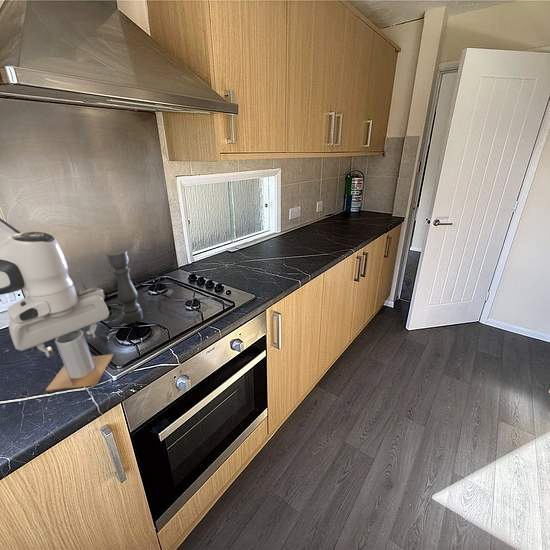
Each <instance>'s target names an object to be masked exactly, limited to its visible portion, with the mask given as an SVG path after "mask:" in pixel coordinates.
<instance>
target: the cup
mask: <svg viewBox="0 0 550 550" xmlns="http://www.w3.org/2000/svg"><path fill="white" fill-rule="evenodd" d="M54 344H55V346H56V348H57V351H58V354H59V356H60V358H61V361H62V363H63V366H65V369H66V371H67V374H68V376H69V377H70V378H73V379H76V378H81V377H84V376H86V375H88V374H89V373H91V372H92V371H93V370H94V368H95V365H94V362H93V359H92V353H91V349H90V347H89V344H88V341H87V339H86V336H85V332H84V331H83V330H81V329H78V330H75V331H73V332H70V333H68V334H65V335H62V336H60V337H57V338H55V339H54Z"/></svg>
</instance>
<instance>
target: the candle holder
mask: <svg viewBox="0 0 550 550" xmlns="http://www.w3.org/2000/svg"><path fill="white" fill-rule="evenodd" d="M106 256H107V260H108V264H109V265H110V266H111V267H112V268H113V270H112V274H113V275H114V276H115V277H116V281H117V299H118V301H119V302H120V303H121V304H122V305H123V306H122V308H121V311H122V313H121V314H122V319H123V322H124V323H125V324H127V325H130V324H129V323H134V324H136V323H135V322H136V321H138V322H137V323H140V322H141V321H143V319H144V314H143V309H142V307H141V306H140V304H139V303H138V301H137V299H138V296H139V294H138V291H137V289H136V288H135V286H134V284H133V282H132V280H131V276H130V271H131V268H130V267H128V264H129V256H128V251H127V249H115V250H110V251H109V252H107V253H106Z"/></svg>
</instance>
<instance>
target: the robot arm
mask: <svg viewBox="0 0 550 550" xmlns="http://www.w3.org/2000/svg"><path fill="white" fill-rule="evenodd" d="M20 290H21V291H22V290H24V291H26V293H27V294H28V295H26V296H25V297H23V298H22V299H20V300H17V302H15V303H13V304H11V305H10V306H8V308H7V313H8V316H9V318H10V319H9V321H8V331H9V336H10V338H11V341H12V343H13V346H14V348H15V350H17V351H21V352H23V351H26V350H29V349H31V348H34V347H36V348H37V349H38V350H39V351H41V352H43V353H44V354H45V356H46V357H47V358H50V357H52V356H54V355H55V352H54V349H53V348H52V346H48V347H46V346H45V343H47V342H49V341H51V340H52V341H53V340H55V339H56V338H57V337H60V336H62V335H65V334H68V333H70V332H73V331H75V330H81V329H83V328H85V327H88V325H89V330H88V331H86V332H85V334H86V337H87V340H92V339H95V338H96V334H95V332H96V330H97V327H98V323H99V322H101V321H104V320H106V319H108V318H109V316H110V311H109V308H108V305H107V304H106V302H105V293H104V292H105V291H104V290H103V289H102V288H100V287H96V286H92V287H90V288H87V289H83V290H79V291H77V290H76V287H75V284H74V281H73V280H72V278H71V277H70V274H69V266H68V262H67V259H66V257H65V255H64V252H63V249H62V247H61V244H60V243H59V241H58V239H56V237H54V236H53V235H51V234H49V233H47V232H43V231H23V232H21V231H20V230H18V229H16V228H15V227H14V226H12V225H11V224H9V223H8V222H7V221H5V220H3V219H2V218H1V217H0V296H2V295H6V294H11V293H15V292H18V291H20Z"/></svg>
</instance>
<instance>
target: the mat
mask: <svg viewBox="0 0 550 550" xmlns="http://www.w3.org/2000/svg"><path fill="white" fill-rule="evenodd" d="M91 356H92V355H91ZM113 357H114V354H113V353H111V354H102V355H93V356H92V359H93V362H94V365H95V368H94V370H93V371H92V372H91V373H89V374H88V375H86V376H84V377H81V378H76V379H73V378H70V377H69V376H68V374H67V371H66V369H65V366H64V365H63V366H62V367H61V369H60V370H59V371H58V373H57V374H56V375H55V377H54V378H53V379H52V381H51V382H50V383H49V385H48V386H47V387H46V388H45V392H54V391H62V390H69V389H78V388H87V387H93V386H95V387H96V386H98V384H99V383H100V381H101V379H102V377H103V375H104V373H106V372H105V371H106V370H107V368H108V366H109V365H108V364H111V361H112V359H113ZM106 367H107V368H106Z"/></svg>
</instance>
